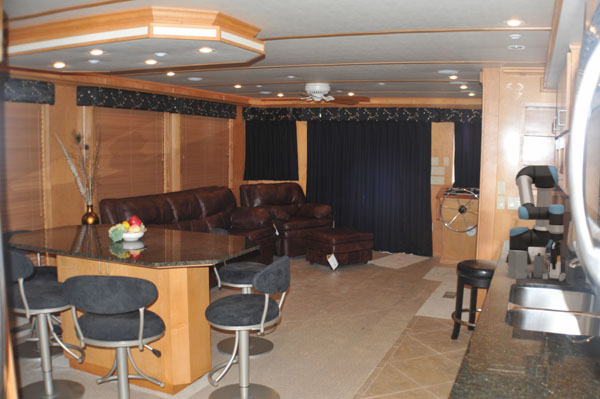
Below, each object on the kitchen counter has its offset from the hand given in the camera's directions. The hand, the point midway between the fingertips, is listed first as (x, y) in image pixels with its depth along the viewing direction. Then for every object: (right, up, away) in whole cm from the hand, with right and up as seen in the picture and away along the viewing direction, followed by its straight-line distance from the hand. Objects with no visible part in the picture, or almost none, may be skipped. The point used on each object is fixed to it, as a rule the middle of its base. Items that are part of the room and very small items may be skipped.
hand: (555, 274), depth 295 cm
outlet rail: (-3, -3, +3) cm, 5 cm away
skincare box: (-19, -3, +5) cm, 20 cm away
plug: (0, -2, 0) cm, 2 cm away
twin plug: (-7, -2, +5) cm, 9 cm away
